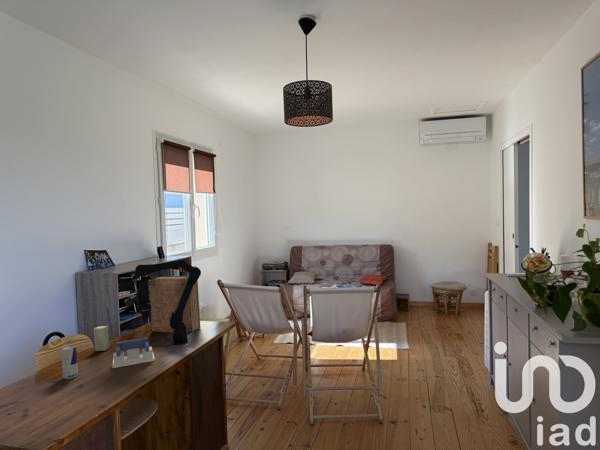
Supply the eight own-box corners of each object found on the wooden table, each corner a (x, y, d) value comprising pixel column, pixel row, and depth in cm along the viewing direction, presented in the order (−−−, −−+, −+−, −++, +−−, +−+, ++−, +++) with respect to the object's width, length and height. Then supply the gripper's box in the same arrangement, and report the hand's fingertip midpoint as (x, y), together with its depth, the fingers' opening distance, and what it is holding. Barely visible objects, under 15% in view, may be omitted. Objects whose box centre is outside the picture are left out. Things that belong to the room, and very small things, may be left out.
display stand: (113, 360, 184) (112, 349, 184) (153, 354, 191) (152, 343, 191) (112, 368, 175) (111, 356, 175) (154, 360, 182) (153, 349, 181)
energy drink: (81, 374, 170) (79, 345, 169) (70, 379, 165) (68, 350, 164) (71, 373, 171) (69, 345, 171) (60, 378, 166) (58, 349, 166)
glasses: (117, 350, 183) (116, 342, 183) (148, 345, 188) (147, 337, 188) (116, 356, 174) (116, 348, 174) (149, 351, 179) (148, 343, 179)
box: (110, 347, 204) (108, 325, 204) (105, 350, 200) (103, 328, 200) (100, 348, 205) (98, 326, 204) (94, 351, 200) (93, 328, 200)
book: (200, 328, 231) (197, 275, 230) (192, 333, 222) (188, 278, 221) (161, 327, 238) (158, 276, 237) (151, 332, 229) (148, 278, 228)
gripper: (125, 288, 205) (127, 319, 206) (124, 294, 188) (126, 328, 189) (148, 286, 210) (150, 316, 210) (150, 291, 193) (152, 324, 193)
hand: (144, 321), depth 200 cm, fingers open, 9 cm apart
